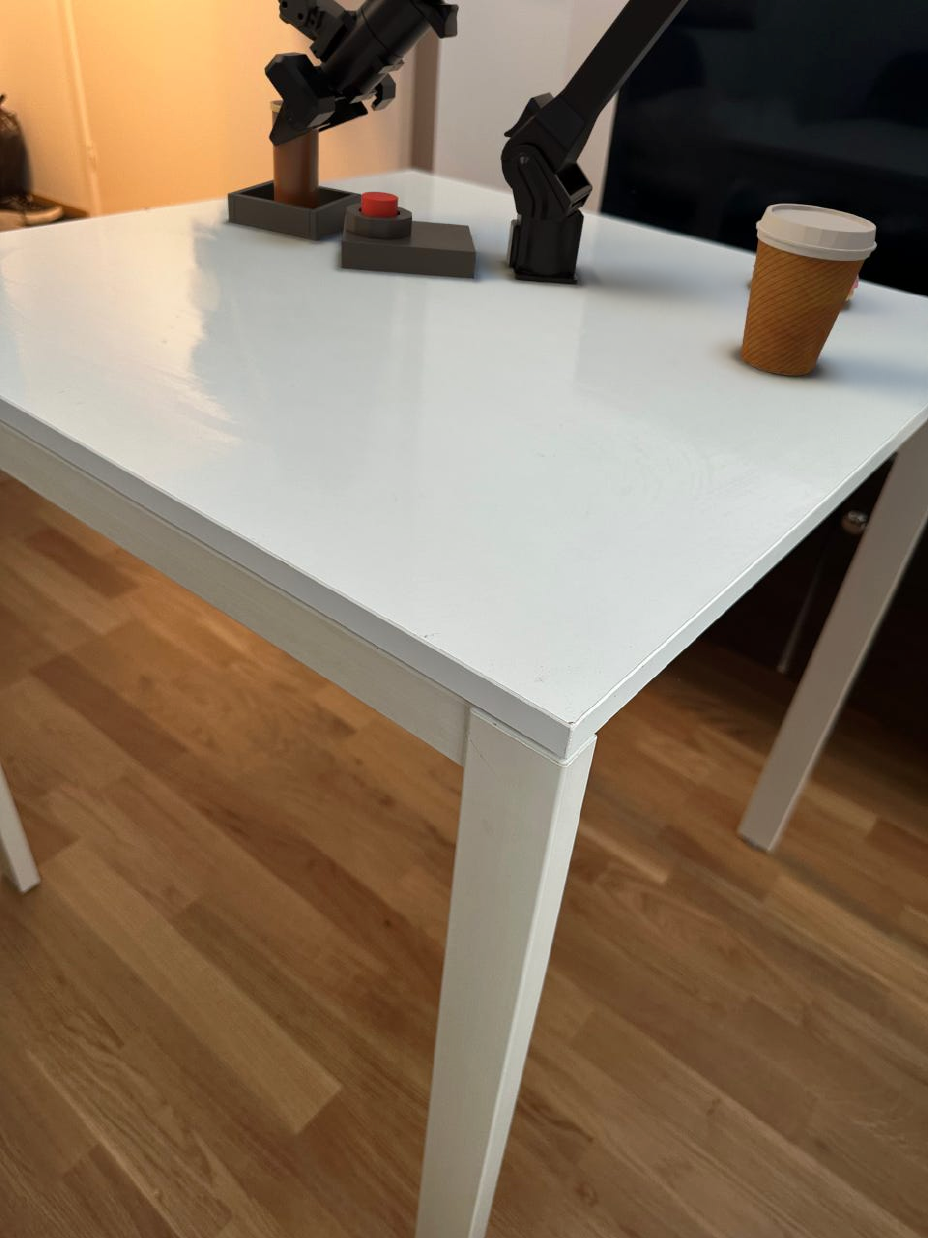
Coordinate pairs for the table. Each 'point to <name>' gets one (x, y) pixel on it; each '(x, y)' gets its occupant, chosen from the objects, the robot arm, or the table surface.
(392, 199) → the brew button
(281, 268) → the table surface
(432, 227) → the red button box
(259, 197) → the tray
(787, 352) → the disposable coffee cup
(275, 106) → the brown cup
